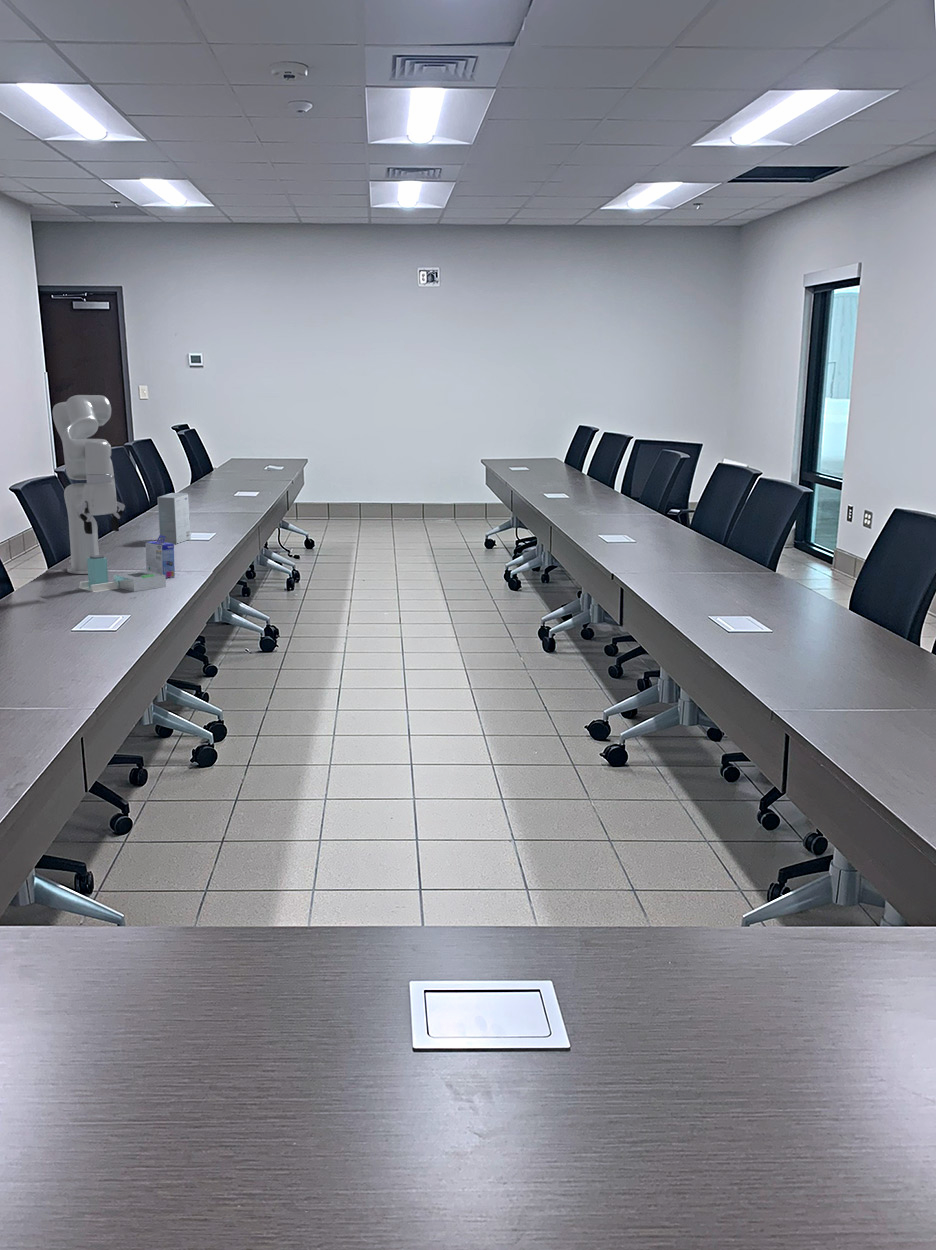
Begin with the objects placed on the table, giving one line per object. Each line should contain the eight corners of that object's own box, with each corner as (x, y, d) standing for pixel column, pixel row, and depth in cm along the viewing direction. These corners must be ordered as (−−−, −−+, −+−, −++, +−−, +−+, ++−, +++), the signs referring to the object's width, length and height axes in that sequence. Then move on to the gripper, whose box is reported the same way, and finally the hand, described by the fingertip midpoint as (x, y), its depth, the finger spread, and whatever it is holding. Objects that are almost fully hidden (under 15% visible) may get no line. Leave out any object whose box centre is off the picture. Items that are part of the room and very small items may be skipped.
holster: (78, 590, 346) (77, 581, 346) (103, 586, 353) (102, 578, 352) (94, 595, 340) (94, 586, 339) (119, 591, 347) (118, 582, 346)
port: (114, 589, 350) (113, 572, 348) (145, 584, 358) (144, 568, 357) (134, 594, 342) (133, 577, 341) (166, 589, 351) (165, 573, 350)
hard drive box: (174, 538, 457) (172, 492, 452) (191, 539, 456) (189, 493, 451) (159, 543, 442) (157, 496, 437) (176, 544, 441) (174, 497, 436)
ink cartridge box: (176, 577, 372) (174, 536, 369) (163, 579, 368) (161, 538, 365) (158, 573, 378) (156, 533, 375) (145, 575, 374) (143, 535, 370)
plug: (88, 587, 346) (86, 556, 344) (101, 586, 349) (99, 554, 347) (96, 589, 343) (94, 557, 341) (108, 588, 347) (106, 556, 344)
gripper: (116, 477, 347) (118, 528, 351) (68, 480, 334) (71, 533, 338) (129, 478, 343) (131, 530, 346) (80, 482, 329) (84, 536, 333)
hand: (102, 532), depth 342 cm, fingers open, 9 cm apart
